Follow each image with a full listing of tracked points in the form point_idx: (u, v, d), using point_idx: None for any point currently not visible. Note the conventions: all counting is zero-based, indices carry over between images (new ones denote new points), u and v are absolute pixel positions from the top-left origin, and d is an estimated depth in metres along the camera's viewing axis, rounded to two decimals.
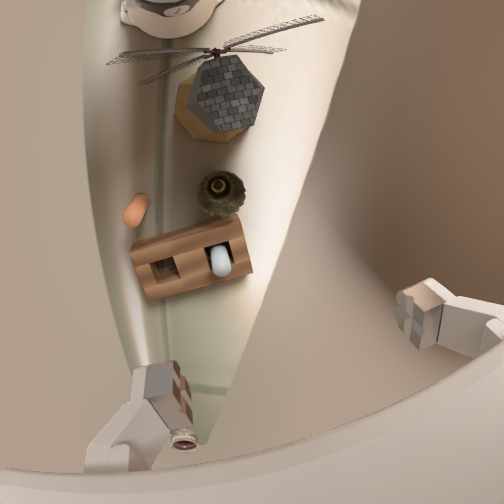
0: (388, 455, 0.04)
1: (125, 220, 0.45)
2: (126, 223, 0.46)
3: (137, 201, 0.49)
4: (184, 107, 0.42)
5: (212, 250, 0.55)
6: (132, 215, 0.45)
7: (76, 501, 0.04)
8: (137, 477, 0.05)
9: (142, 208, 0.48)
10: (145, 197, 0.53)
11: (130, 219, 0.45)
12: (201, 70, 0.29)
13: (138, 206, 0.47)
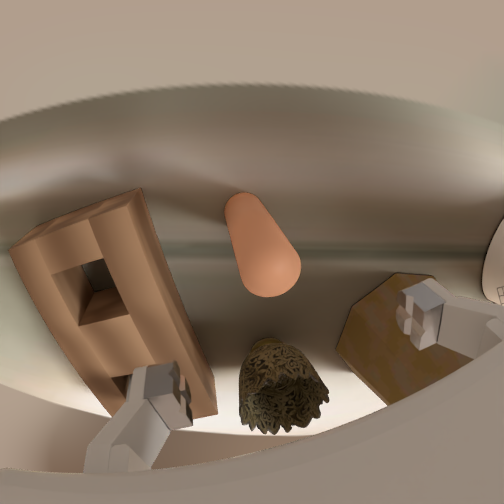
0: (388, 455, 0.04)
1: (264, 251, 0.15)
2: (255, 254, 0.15)
3: None
4: None
5: None
6: (279, 273, 0.16)
7: (76, 501, 0.04)
8: (137, 477, 0.05)
9: None
10: None
11: (267, 267, 0.15)
12: None
13: None
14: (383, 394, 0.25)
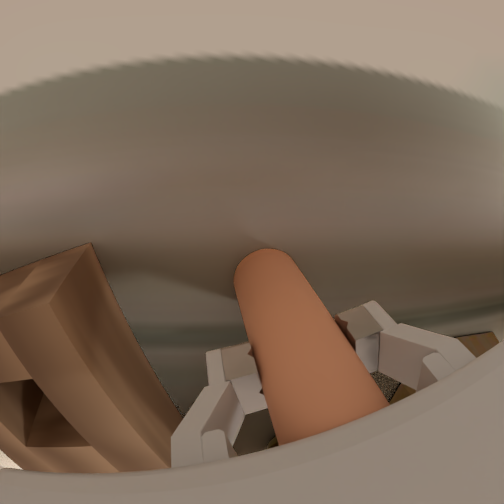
0: (388, 455, 0.04)
1: None
2: None
3: None
4: None
5: None
6: None
7: (76, 501, 0.04)
8: (137, 477, 0.05)
9: None
10: None
11: None
12: None
13: None
14: None
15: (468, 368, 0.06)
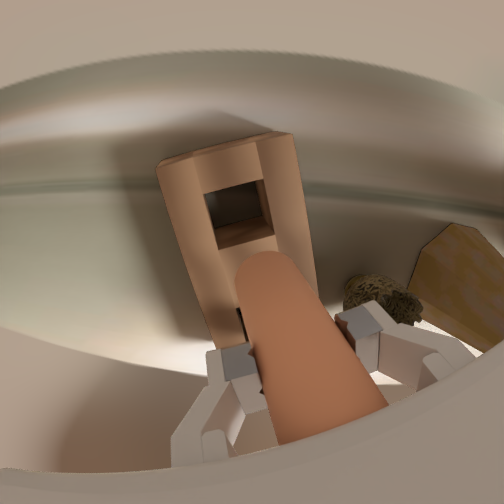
0: (388, 455, 0.04)
1: None
2: None
3: None
4: (500, 267, 0.26)
5: None
6: None
7: (76, 501, 0.04)
8: (137, 477, 0.05)
9: None
10: None
11: None
12: None
13: None
14: (456, 318, 0.29)
15: (468, 368, 0.06)
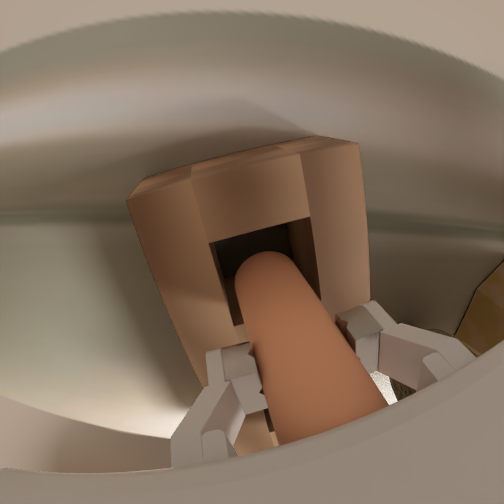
0: (388, 455, 0.04)
1: None
2: None
3: None
4: None
5: None
6: None
7: (76, 501, 0.04)
8: (137, 477, 0.05)
9: None
10: None
11: None
12: None
13: None
14: None
15: (468, 368, 0.06)
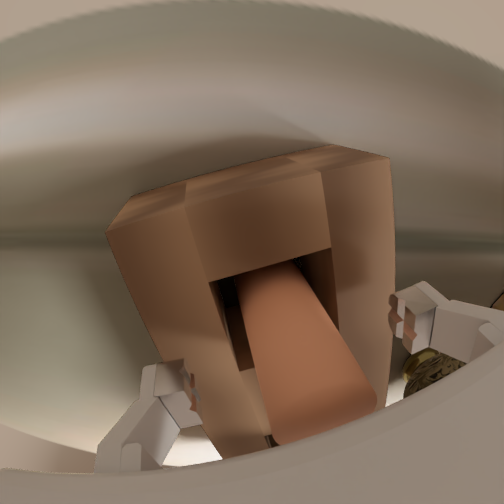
0: (388, 455, 0.04)
1: (320, 398, 0.07)
2: (302, 405, 0.07)
3: None
4: None
5: None
6: (338, 421, 0.08)
7: (76, 501, 0.04)
8: (137, 477, 0.05)
9: None
10: None
11: (320, 417, 0.07)
12: None
13: None
14: None
15: (468, 368, 0.06)
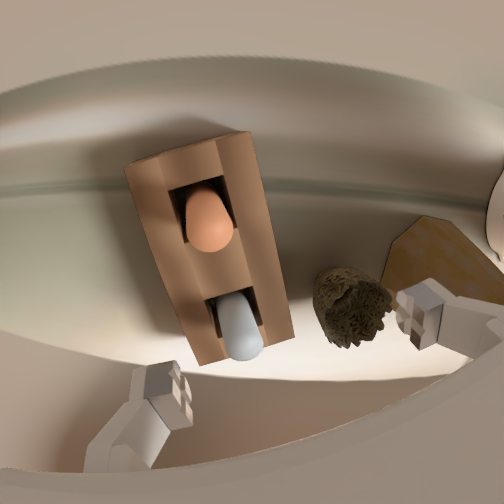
0: (388, 455, 0.04)
1: (203, 214, 0.20)
2: (197, 217, 0.20)
3: None
4: (472, 256, 0.28)
5: (244, 299, 0.29)
6: (216, 232, 0.20)
7: (76, 500, 0.04)
8: (137, 477, 0.05)
9: None
10: None
11: (206, 227, 0.20)
12: None
13: None
14: None
15: (468, 368, 0.06)
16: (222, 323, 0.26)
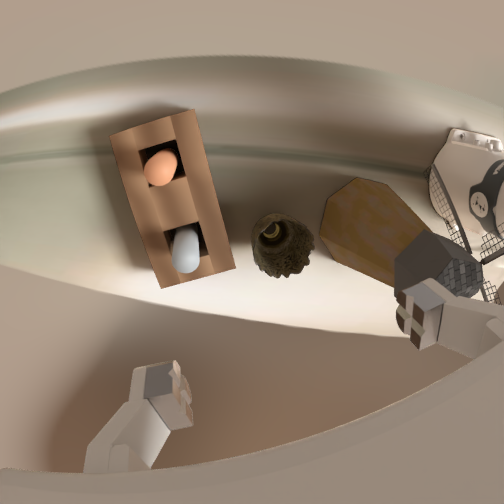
0: (388, 455, 0.04)
1: (155, 160, 0.29)
2: (150, 162, 0.29)
3: None
4: (392, 207, 0.37)
5: (193, 233, 0.38)
6: (163, 172, 0.30)
7: (76, 501, 0.04)
8: (137, 477, 0.05)
9: None
10: None
11: (156, 169, 0.29)
12: (474, 261, 0.27)
13: None
14: (354, 251, 0.39)
15: (468, 368, 0.06)
16: (173, 246, 0.36)
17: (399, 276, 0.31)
